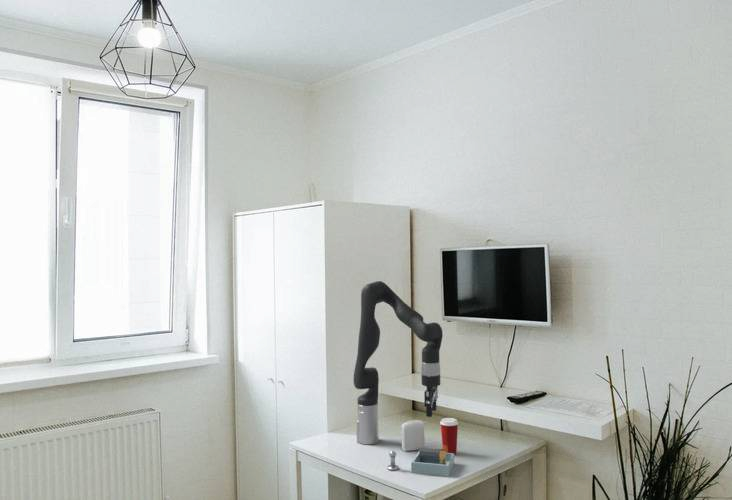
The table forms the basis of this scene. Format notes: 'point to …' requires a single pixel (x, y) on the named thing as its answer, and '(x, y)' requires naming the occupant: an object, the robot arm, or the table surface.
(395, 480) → the table surface
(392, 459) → the stud post
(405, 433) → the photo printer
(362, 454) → the table surface
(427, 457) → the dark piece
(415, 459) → the bin
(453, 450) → the paper cup
